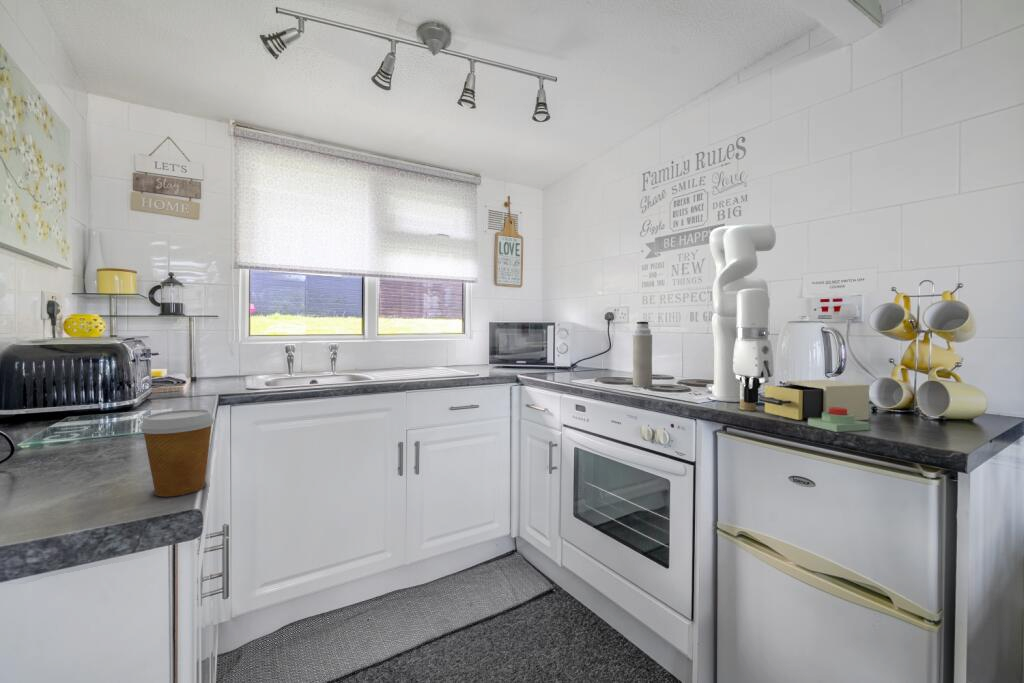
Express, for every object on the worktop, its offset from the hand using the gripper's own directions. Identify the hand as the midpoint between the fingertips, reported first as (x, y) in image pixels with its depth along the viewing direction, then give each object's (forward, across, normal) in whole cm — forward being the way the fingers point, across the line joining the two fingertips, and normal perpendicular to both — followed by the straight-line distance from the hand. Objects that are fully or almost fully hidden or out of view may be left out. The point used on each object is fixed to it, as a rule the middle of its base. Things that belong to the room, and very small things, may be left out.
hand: (750, 402), depth 120 cm
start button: (+2, -12, -15) cm, 19 cm away
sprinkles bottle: (+5, +14, -11) cm, 19 cm away
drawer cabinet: (+5, 0, -25) cm, 26 cm away
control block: (+5, -12, -15) cm, 20 cm away
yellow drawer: (+4, 0, -14) cm, 15 cm away
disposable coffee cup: (+5, -23, +126) cm, 128 cm away
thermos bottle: (+5, +73, -9) cm, 74 cm away
